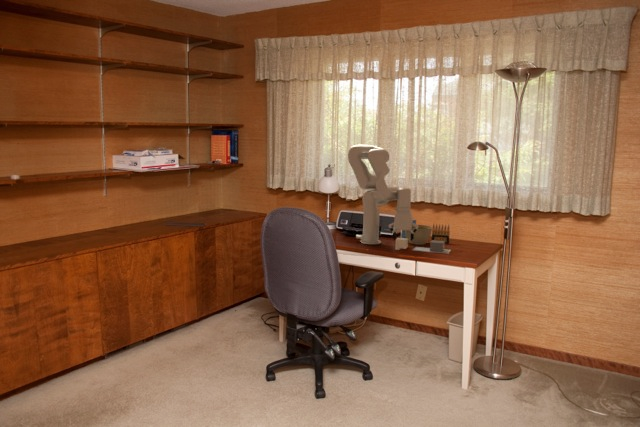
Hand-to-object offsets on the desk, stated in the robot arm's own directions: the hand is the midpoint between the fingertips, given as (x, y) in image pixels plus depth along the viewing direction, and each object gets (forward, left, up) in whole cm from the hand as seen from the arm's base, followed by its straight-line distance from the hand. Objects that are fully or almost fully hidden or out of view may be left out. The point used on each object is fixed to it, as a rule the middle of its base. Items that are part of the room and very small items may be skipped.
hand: (403, 239), depth 321 cm
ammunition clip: (+17, +29, -6) cm, 35 cm away
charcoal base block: (+19, 0, -4) cm, 20 cm away
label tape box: (-4, +36, -6) cm, 37 cm away
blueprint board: (+16, 0, -5) cm, 17 cm away
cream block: (-1, 0, -6) cm, 6 cm away
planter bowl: (+5, +18, -6) cm, 20 cm away
